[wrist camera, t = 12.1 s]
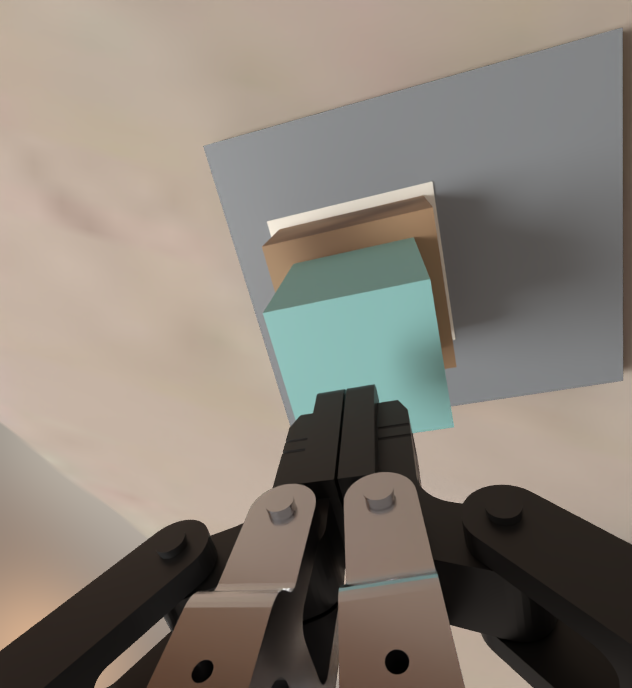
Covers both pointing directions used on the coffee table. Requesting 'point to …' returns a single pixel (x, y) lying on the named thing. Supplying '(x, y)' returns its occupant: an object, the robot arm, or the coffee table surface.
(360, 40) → the coffee table surface
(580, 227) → the board
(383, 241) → the walnut block
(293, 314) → the teal block
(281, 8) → the coffee table surface
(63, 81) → the coffee table surface
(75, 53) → the coffee table surface
